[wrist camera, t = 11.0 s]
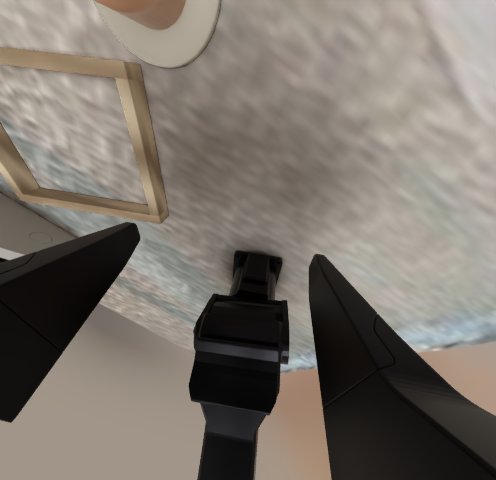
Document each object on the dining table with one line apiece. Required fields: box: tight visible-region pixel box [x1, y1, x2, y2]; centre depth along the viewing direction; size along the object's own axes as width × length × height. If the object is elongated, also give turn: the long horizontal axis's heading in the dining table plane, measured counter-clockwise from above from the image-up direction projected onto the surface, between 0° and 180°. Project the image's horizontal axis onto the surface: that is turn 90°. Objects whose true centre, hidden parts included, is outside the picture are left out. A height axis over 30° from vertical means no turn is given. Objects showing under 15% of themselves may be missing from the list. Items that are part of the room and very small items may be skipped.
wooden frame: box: [0, 47, 169, 224], centre depth 19 cm, size 14×18×2 cm
